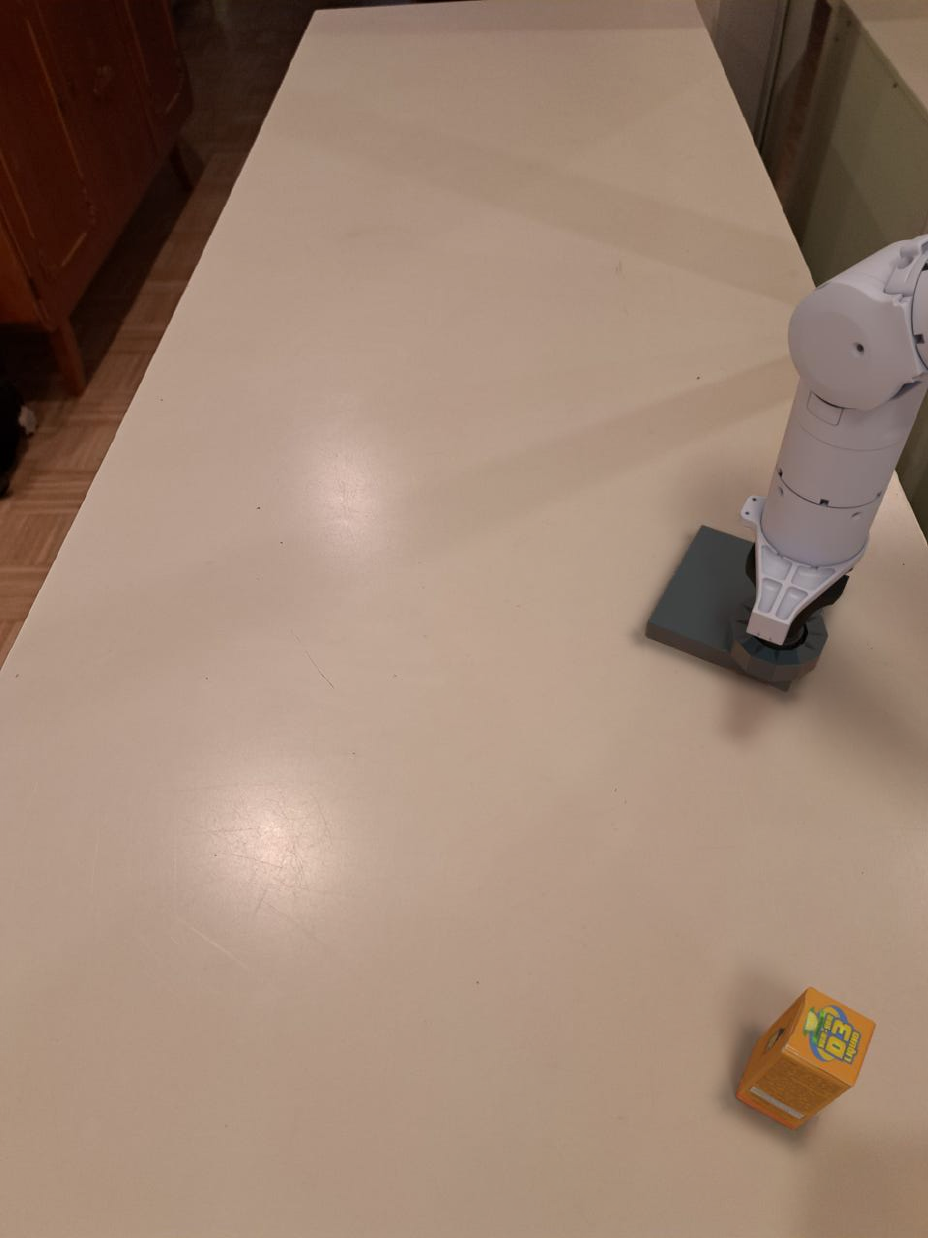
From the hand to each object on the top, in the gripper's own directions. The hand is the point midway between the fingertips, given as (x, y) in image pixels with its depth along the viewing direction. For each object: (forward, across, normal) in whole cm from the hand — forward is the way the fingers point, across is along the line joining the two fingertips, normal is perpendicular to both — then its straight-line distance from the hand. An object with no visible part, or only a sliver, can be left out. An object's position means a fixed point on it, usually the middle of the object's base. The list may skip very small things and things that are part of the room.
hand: (779, 625), depth 61 cm
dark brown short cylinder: (+2, 0, 0) cm, 2 cm away
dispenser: (+4, -3, -3) cm, 6 cm away
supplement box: (+4, +25, +9) cm, 27 cm away
